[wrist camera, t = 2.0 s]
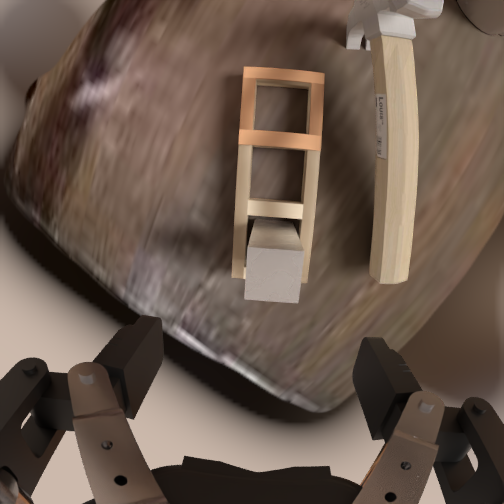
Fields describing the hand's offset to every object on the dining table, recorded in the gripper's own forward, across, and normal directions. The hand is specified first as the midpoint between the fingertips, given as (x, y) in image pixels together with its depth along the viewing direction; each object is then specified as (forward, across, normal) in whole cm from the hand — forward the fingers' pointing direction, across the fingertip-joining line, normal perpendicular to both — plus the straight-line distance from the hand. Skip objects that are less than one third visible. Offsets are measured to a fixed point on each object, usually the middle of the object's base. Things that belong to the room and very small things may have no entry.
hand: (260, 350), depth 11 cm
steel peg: (+23, -1, +1) cm, 23 cm away
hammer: (+23, -11, -12) cm, 28 cm away
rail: (+23, -1, -6) cm, 23 cm away
